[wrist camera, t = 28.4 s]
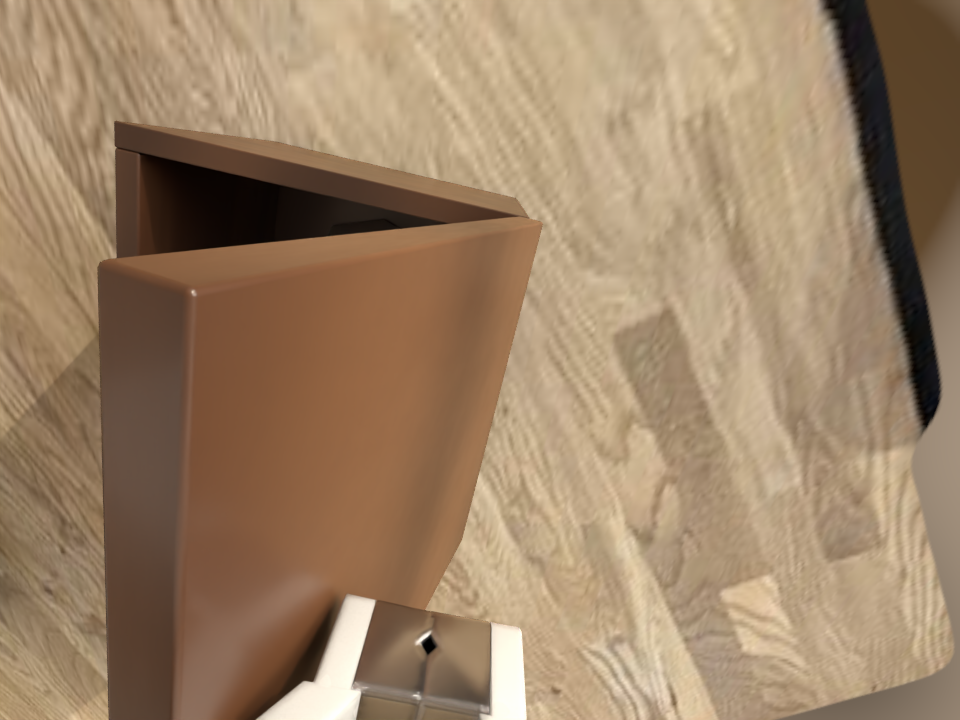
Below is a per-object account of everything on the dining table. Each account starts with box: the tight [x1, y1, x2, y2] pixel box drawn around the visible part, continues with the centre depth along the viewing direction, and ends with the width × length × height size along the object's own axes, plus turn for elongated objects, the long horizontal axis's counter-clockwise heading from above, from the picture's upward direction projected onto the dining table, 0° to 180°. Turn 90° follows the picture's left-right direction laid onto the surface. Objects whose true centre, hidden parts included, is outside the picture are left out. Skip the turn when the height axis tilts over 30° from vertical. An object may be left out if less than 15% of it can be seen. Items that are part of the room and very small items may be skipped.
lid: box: [98, 216, 543, 720], centre depth 12 cm, size 14×13×1 cm
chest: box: [114, 121, 529, 258], centre depth 25 cm, size 14×13×13 cm
